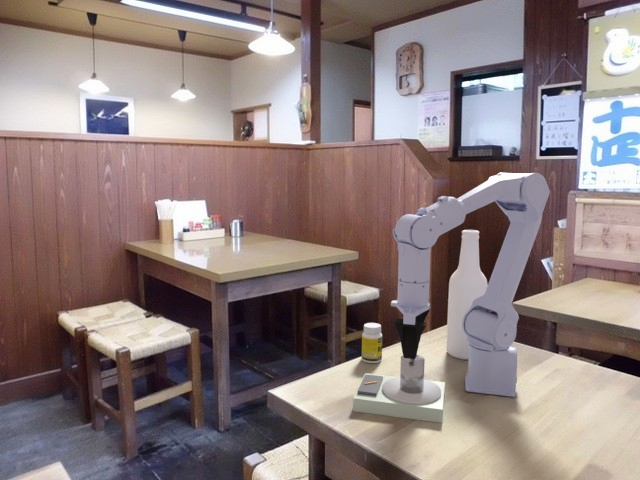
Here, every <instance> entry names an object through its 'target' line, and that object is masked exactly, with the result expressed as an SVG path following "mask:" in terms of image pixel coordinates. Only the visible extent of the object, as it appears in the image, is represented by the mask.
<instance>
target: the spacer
mask: <svg viewBox="0 0 640 480" xmlns="http://www.w3.org/2000/svg"><path fill="white" fill-rule="evenodd" d="M399 372H400V373H399V374H400V375H399V377H400V389H401V390H402V391H403V392H405V393H410V394H418V393H421V392H423V390H424V379H425V357H424V356H422V355H419V354H417V355H416V358H415V359H409V358H404V356H403V355H401V356H400V371H399Z"/></svg>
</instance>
